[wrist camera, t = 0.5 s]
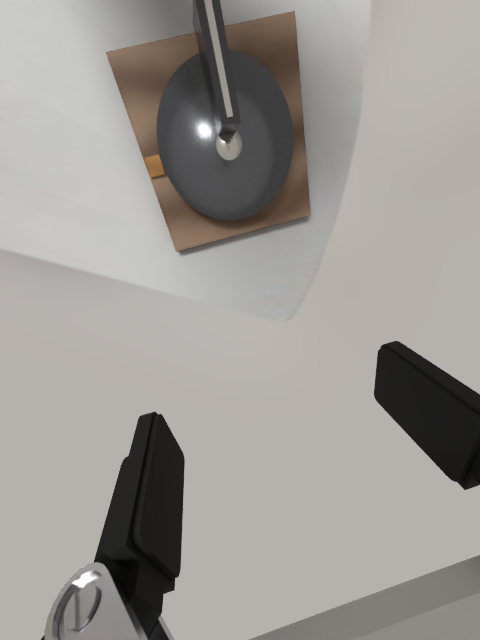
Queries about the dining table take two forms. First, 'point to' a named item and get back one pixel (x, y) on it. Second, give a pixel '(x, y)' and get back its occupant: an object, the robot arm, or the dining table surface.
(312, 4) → the dining table surface
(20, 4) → the dining table surface
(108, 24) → the dining table surface
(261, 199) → the dial
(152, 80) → the dial base plate
